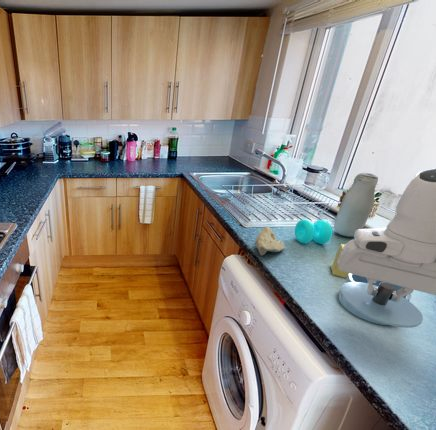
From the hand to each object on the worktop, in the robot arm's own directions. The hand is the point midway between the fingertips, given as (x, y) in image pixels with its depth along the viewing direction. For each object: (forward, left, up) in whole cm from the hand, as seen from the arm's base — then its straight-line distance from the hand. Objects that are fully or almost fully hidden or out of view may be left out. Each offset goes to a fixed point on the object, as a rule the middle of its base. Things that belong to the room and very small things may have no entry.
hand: (381, 296), depth 66 cm
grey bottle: (-6, -71, -15) cm, 73 cm away
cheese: (+23, -35, -15) cm, 45 cm away
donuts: (+8, -55, -15) cm, 58 cm away
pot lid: (0, 0, -2) cm, 2 cm away
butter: (0, -35, -15) cm, 38 cm away
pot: (-5, -18, -15) cm, 24 cm away
